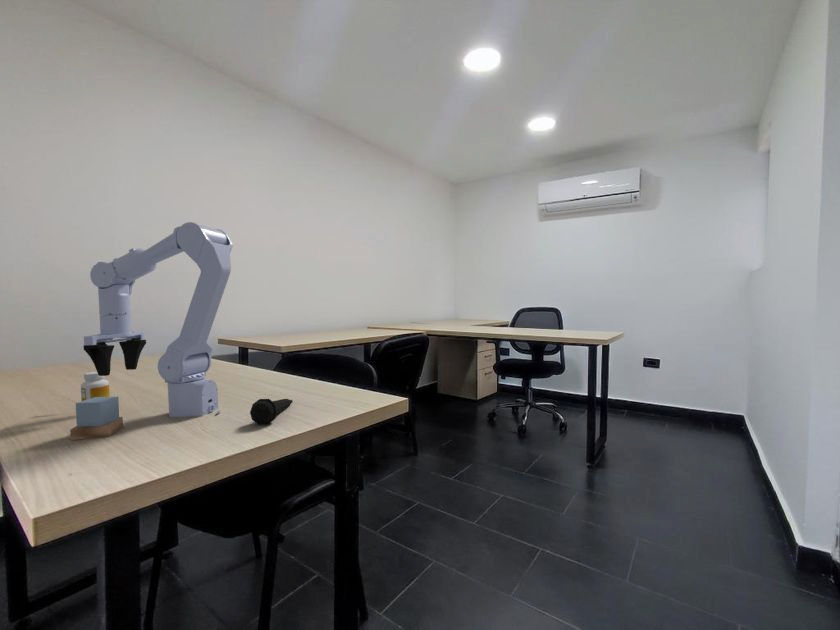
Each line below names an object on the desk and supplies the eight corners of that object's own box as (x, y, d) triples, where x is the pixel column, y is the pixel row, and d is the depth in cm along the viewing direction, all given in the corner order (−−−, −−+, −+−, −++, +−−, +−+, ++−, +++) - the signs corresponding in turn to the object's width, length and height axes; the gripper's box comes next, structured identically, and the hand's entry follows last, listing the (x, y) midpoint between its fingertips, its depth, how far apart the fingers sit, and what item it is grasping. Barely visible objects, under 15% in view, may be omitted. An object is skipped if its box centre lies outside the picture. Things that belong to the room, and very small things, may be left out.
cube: (119, 418, 77) (118, 396, 77) (101, 426, 72) (100, 402, 72) (96, 419, 77) (95, 397, 76) (76, 426, 72) (75, 403, 72)
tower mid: (123, 426, 78) (122, 416, 78) (109, 435, 73) (109, 425, 73) (87, 429, 76) (86, 420, 76) (70, 440, 71) (70, 429, 71)
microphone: (284, 415, 100) (249, 431, 80) (278, 394, 100) (241, 405, 80) (304, 408, 100) (274, 422, 80) (298, 387, 100) (266, 396, 80)
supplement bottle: (115, 407, 99) (113, 370, 98) (101, 413, 93) (99, 374, 93) (91, 409, 98) (89, 371, 97) (76, 415, 92) (74, 375, 92)
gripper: (124, 314, 97) (127, 367, 98) (69, 316, 83) (72, 378, 83) (151, 313, 97) (153, 366, 97) (100, 315, 82) (103, 378, 83)
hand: (118, 372), depth 90 cm, fingers open, 7 cm apart
